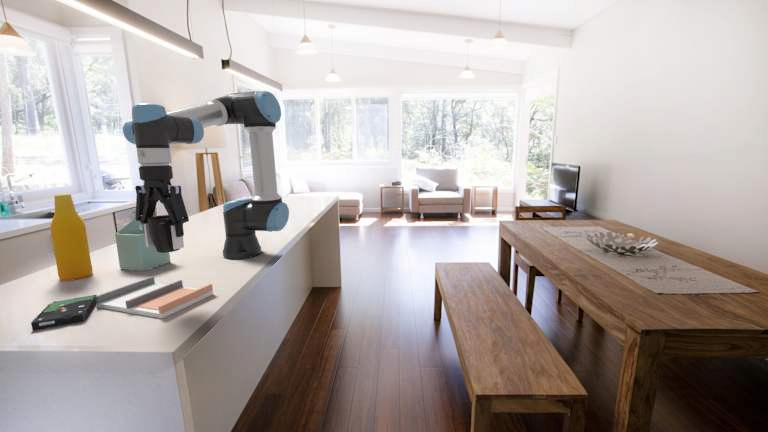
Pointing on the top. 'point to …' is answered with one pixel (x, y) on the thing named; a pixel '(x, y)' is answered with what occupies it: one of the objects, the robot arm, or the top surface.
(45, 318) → the disk drive
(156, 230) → the mug
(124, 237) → the planter
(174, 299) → the slot rack
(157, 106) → the robot arm
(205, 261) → the top surface
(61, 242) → the beer bottle
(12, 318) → the top surface
